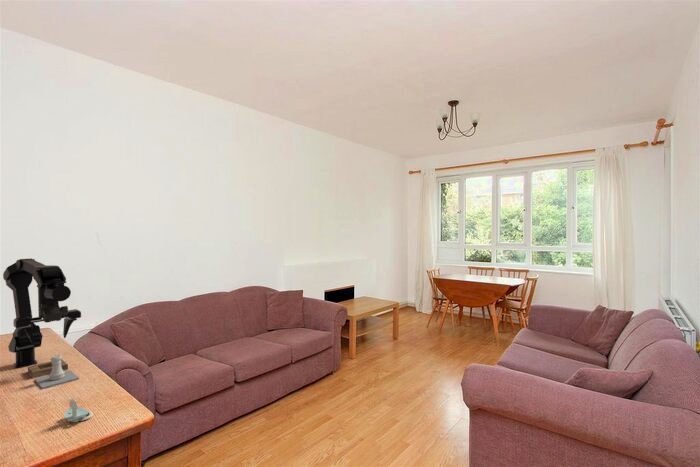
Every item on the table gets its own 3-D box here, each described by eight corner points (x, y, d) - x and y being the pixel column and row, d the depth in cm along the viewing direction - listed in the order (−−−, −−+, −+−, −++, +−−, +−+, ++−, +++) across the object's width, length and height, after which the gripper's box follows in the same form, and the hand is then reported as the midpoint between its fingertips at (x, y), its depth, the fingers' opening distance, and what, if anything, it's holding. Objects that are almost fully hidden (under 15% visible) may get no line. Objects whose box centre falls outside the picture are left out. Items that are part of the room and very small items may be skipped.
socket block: (27, 371, 132) (27, 366, 132) (61, 363, 140) (61, 358, 140) (33, 378, 125) (33, 372, 125) (67, 369, 133) (67, 364, 133)
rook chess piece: (55, 381, 121) (55, 358, 121) (45, 380, 122) (44, 357, 122) (68, 376, 126) (67, 354, 126) (58, 375, 126) (57, 353, 126)
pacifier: (87, 411, 101) (61, 419, 96) (88, 389, 101) (62, 396, 96) (96, 418, 97) (70, 427, 92) (97, 395, 97) (70, 403, 92)
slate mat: (34, 380, 124) (34, 378, 124) (70, 371, 131) (70, 370, 131) (42, 389, 116) (42, 387, 116) (79, 379, 124) (79, 377, 124)
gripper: (18, 306, 118) (19, 351, 118) (84, 297, 133) (85, 338, 133) (12, 302, 125) (13, 345, 125) (76, 295, 140) (77, 333, 140)
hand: (49, 340), depth 131 cm, fingers open, 9 cm apart
